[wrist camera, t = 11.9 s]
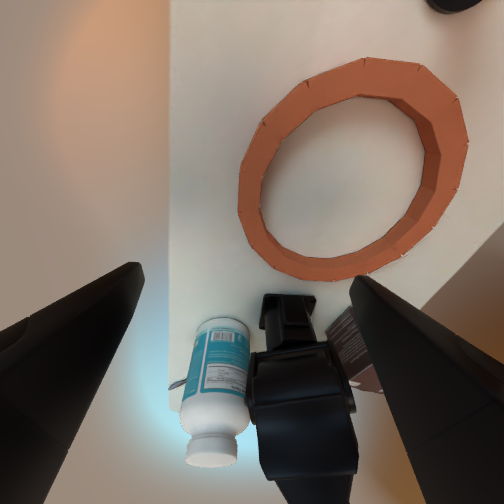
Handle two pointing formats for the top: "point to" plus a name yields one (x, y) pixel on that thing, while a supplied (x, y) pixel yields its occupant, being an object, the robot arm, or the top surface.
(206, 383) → the pill bottle
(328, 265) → the ring
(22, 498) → the robot arm
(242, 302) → the top surface
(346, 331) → the box
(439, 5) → the post stand
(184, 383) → the pen
